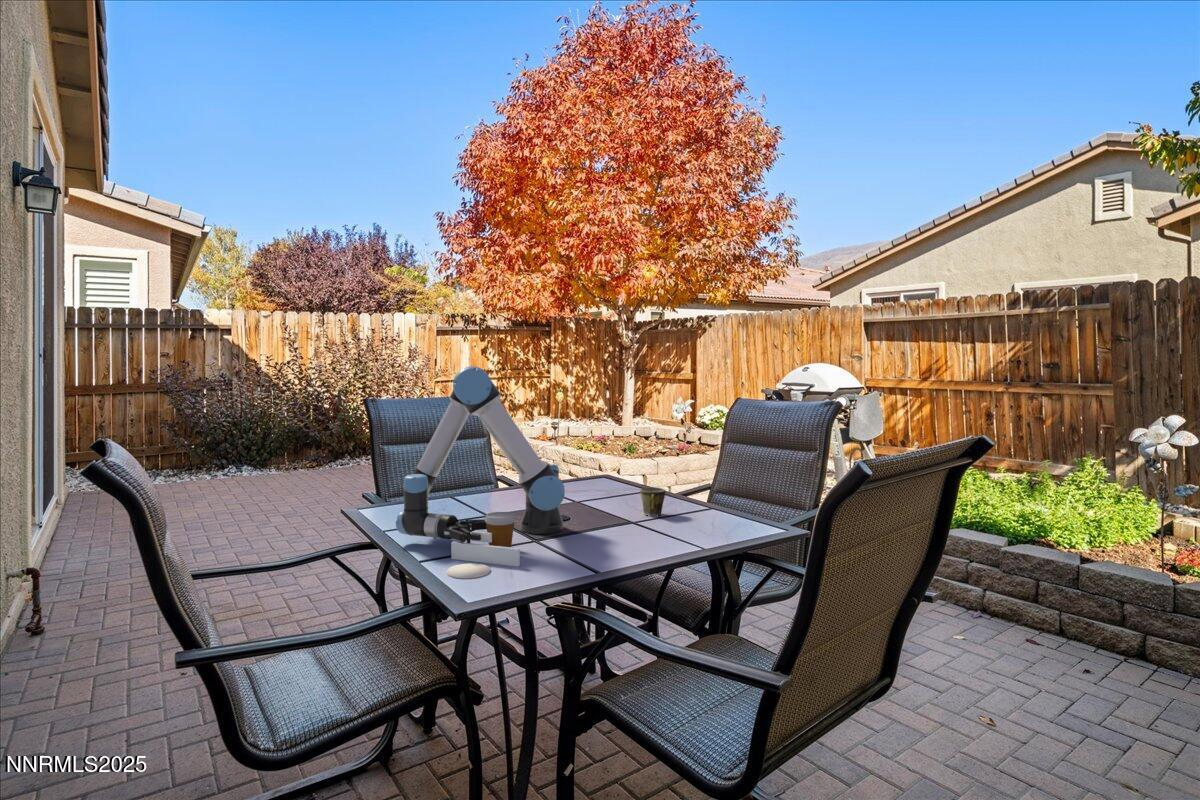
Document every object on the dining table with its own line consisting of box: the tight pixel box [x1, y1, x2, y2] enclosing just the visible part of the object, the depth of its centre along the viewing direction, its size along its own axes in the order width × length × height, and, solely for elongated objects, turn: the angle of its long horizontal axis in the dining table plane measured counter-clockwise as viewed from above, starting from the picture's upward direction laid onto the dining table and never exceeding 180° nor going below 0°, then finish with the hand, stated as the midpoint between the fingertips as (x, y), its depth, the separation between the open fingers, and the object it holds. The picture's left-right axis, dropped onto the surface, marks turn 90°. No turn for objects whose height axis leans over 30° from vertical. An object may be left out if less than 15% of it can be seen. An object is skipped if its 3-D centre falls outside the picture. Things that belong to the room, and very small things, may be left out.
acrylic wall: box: [450, 540, 521, 568], centre depth 192 cm, size 22×1×5 cm, turn 71°
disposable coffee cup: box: [483, 511, 517, 548], centre depth 201 cm, size 10×10×12 cm
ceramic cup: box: [639, 486, 667, 517], centre depth 253 cm, size 13×10×10 cm
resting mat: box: [446, 562, 491, 580], centre depth 183 cm, size 12×12×1 cm
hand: (502, 532), depth 200 cm, fingers open, 13 cm apart
